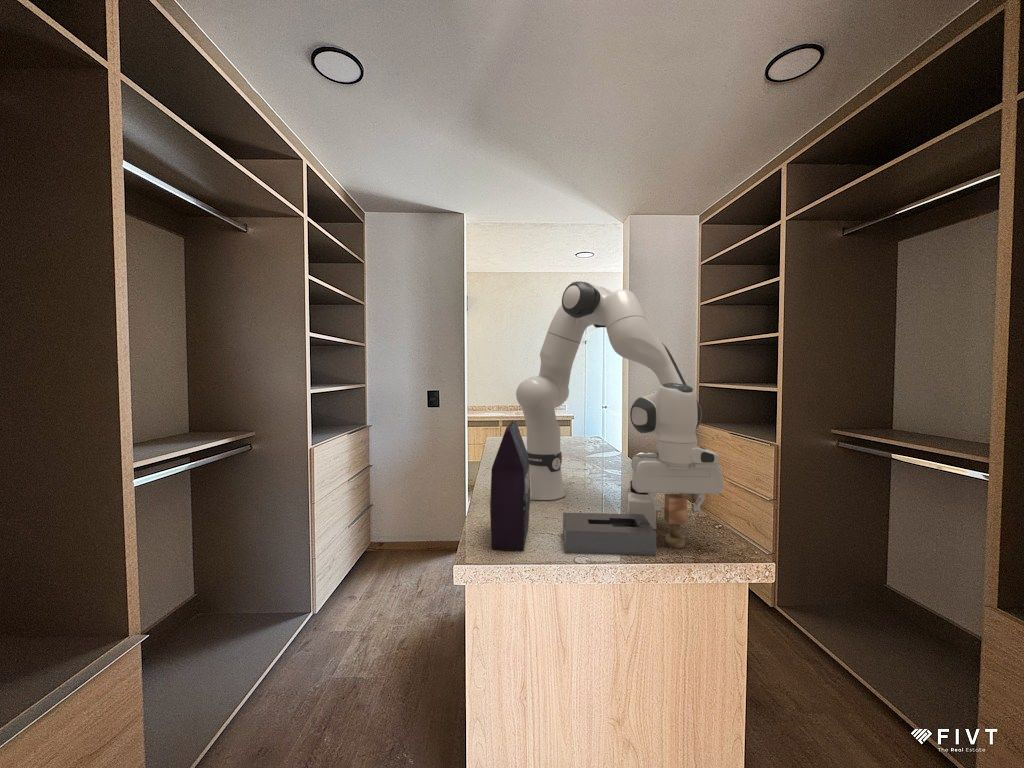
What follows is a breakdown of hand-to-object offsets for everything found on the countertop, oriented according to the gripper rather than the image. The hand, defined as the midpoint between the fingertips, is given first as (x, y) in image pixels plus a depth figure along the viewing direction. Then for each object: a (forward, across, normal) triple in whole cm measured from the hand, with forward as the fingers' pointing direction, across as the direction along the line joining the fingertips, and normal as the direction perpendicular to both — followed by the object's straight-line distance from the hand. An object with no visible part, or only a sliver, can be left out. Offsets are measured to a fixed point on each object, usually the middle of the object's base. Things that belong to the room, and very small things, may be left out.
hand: (676, 511), depth 106 cm
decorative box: (+8, -39, +1) cm, 40 cm away
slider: (+8, 0, 0) cm, 8 cm away
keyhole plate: (+8, -16, 0) cm, 18 cm away
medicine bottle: (+8, -5, +14) cm, 17 cm away
